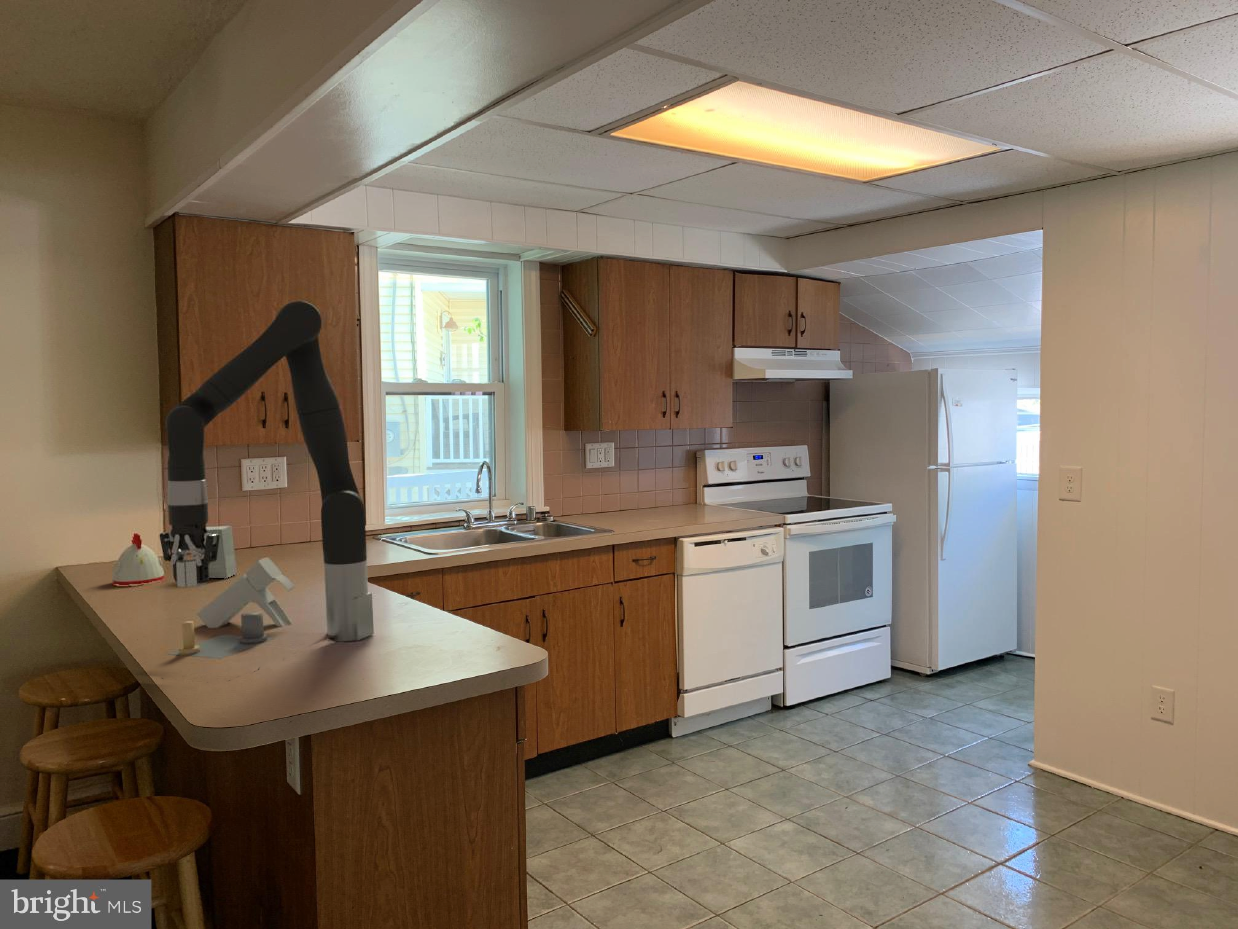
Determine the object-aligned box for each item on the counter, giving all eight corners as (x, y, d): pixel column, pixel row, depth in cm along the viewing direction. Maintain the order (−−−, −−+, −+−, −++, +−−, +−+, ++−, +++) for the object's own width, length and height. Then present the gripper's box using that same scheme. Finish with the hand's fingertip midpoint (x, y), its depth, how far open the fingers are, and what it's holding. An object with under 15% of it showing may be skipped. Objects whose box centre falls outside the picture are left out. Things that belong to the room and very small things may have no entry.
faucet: (208, 606, 218) (269, 553, 216) (253, 658, 218) (314, 605, 217) (195, 613, 212) (257, 558, 210) (241, 665, 212) (304, 611, 211)
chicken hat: (119, 589, 268) (116, 538, 267) (108, 582, 278) (105, 534, 277) (170, 582, 277) (167, 533, 276) (157, 576, 287) (154, 529, 286)
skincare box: (237, 575, 285) (234, 525, 284) (225, 579, 278) (222, 528, 277) (211, 575, 286) (208, 525, 285) (199, 580, 279) (196, 528, 278)
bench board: (274, 643, 201) (272, 609, 200) (221, 664, 186) (219, 627, 185) (222, 639, 205) (220, 606, 205) (167, 659, 190) (164, 623, 190)
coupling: (211, 582, 193) (210, 559, 192) (191, 587, 188) (190, 563, 187) (191, 581, 194) (190, 557, 194) (171, 585, 189) (170, 562, 189)
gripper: (228, 500, 191) (231, 580, 192) (174, 499, 196) (178, 577, 197) (201, 504, 184) (205, 587, 185) (146, 502, 189) (150, 583, 190)
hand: (191, 581), depth 191 cm, fingers closed on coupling, 5 cm apart
